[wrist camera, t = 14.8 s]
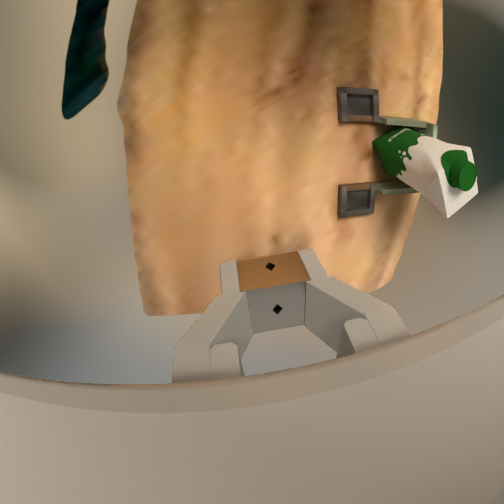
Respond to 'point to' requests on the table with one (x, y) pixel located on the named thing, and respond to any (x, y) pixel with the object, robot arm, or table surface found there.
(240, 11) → the table surface
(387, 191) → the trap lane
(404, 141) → the soya milk
